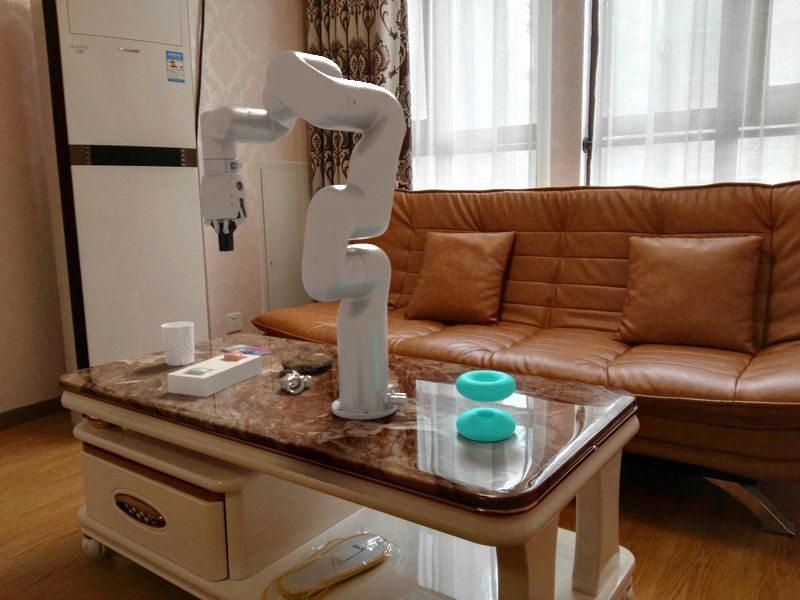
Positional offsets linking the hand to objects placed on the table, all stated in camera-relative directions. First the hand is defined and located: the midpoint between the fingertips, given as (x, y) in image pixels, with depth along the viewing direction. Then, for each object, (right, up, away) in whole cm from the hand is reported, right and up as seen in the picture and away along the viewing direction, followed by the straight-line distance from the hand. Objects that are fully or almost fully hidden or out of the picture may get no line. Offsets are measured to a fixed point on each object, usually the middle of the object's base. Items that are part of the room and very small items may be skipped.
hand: (226, 250), depth 142 cm
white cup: (-17, -27, +17) cm, 36 cm away
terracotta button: (+1, -28, +4) cm, 28 cm away
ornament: (+17, -31, -7) cm, 36 cm away
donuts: (+54, -34, -36) cm, 73 cm away
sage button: (-4, -30, -6) cm, 31 cm away
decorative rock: (+17, -28, +8) cm, 34 cm away
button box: (-2, -30, -1) cm, 30 cm away
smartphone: (-2, -26, +27) cm, 38 cm away
